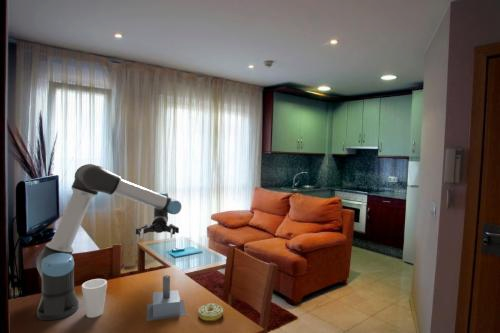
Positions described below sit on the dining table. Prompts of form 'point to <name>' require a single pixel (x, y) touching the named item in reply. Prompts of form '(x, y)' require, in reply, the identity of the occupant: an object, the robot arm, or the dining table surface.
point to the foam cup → (94, 296)
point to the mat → (150, 316)
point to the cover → (166, 301)
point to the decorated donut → (210, 312)
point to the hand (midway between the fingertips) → (156, 235)
